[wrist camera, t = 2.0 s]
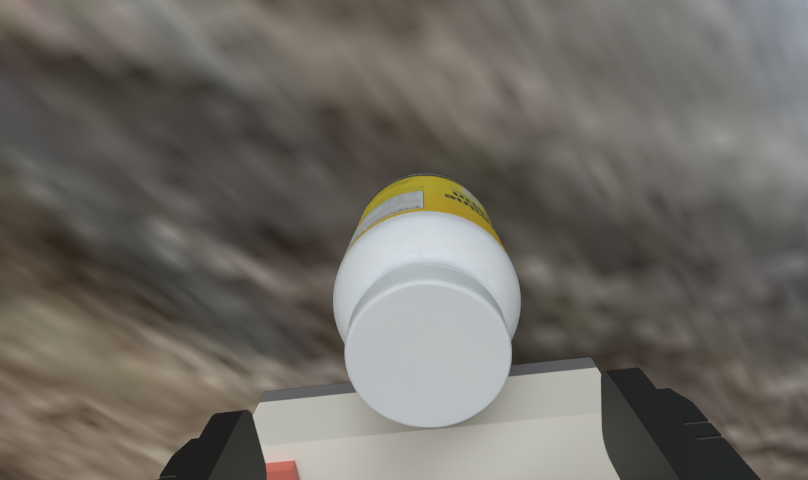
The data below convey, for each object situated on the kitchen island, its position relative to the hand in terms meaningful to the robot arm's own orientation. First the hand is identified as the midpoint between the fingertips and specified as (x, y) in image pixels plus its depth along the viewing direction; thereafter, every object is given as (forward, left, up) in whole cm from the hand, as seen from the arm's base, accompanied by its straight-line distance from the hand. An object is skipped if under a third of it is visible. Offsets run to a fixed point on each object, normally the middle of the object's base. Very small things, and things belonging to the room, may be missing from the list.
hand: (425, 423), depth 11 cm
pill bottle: (0, 0, -14) cm, 14 cm away
